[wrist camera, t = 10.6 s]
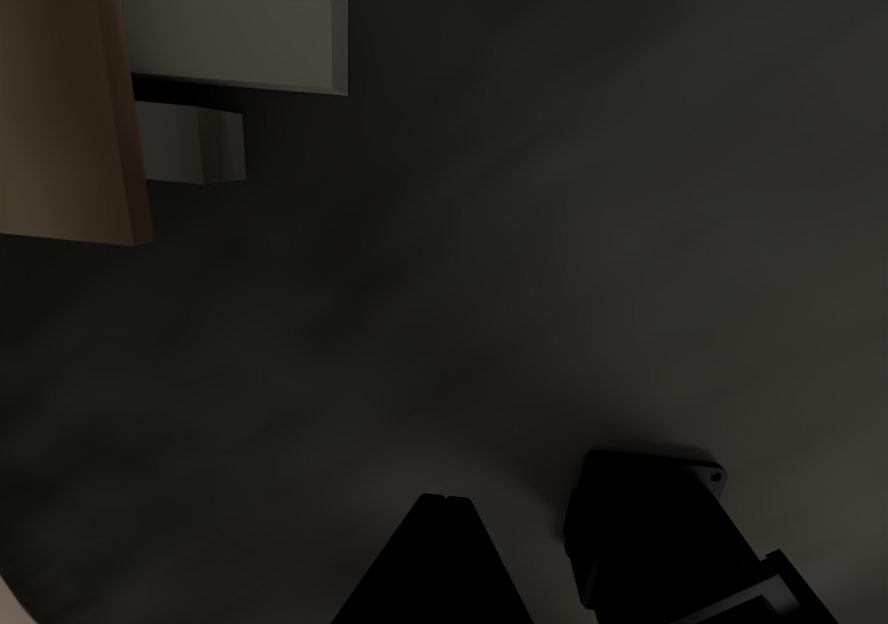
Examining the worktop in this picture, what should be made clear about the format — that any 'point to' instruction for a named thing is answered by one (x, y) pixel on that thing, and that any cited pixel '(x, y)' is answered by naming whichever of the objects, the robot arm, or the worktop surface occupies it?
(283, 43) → the thin gray tile
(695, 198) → the worktop surface
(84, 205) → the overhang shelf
